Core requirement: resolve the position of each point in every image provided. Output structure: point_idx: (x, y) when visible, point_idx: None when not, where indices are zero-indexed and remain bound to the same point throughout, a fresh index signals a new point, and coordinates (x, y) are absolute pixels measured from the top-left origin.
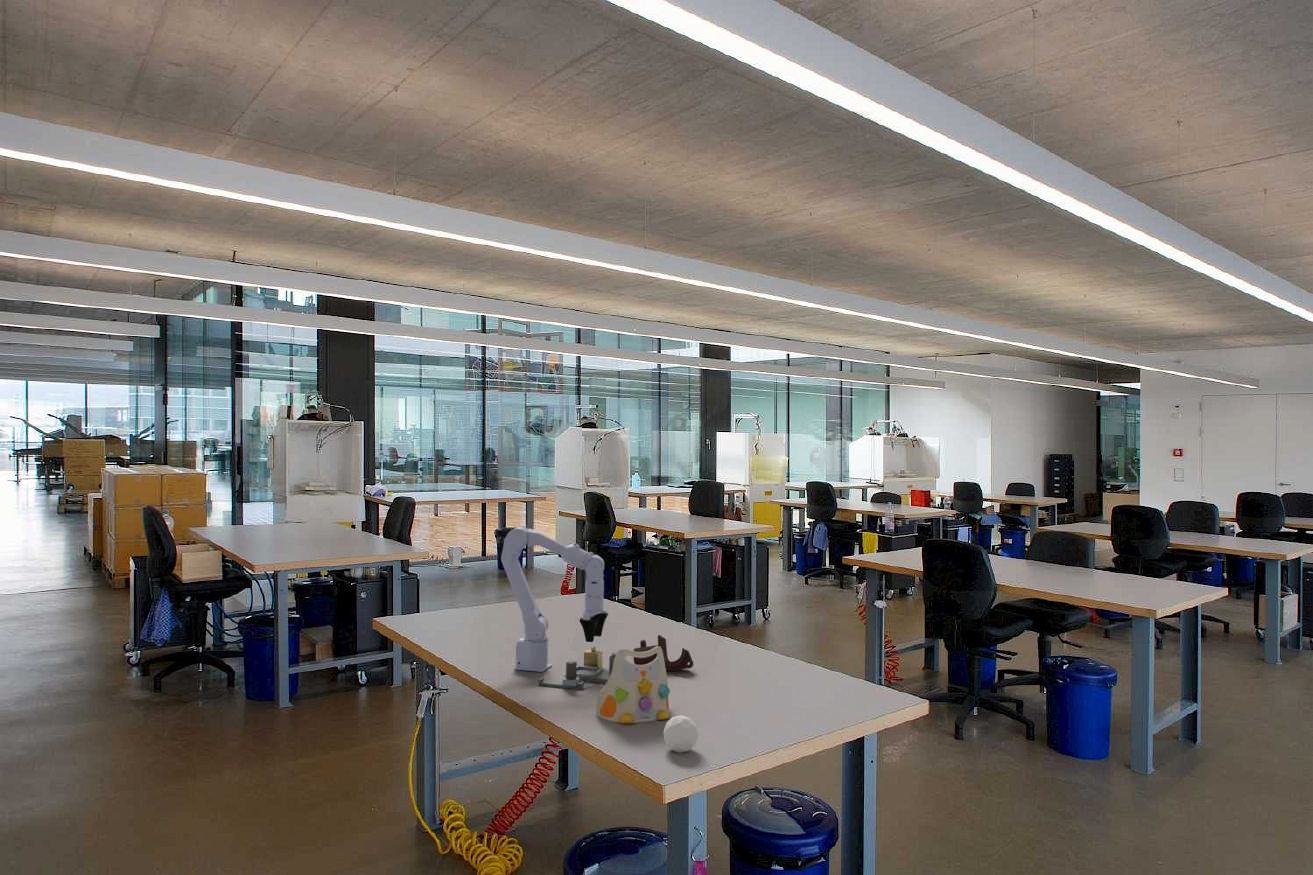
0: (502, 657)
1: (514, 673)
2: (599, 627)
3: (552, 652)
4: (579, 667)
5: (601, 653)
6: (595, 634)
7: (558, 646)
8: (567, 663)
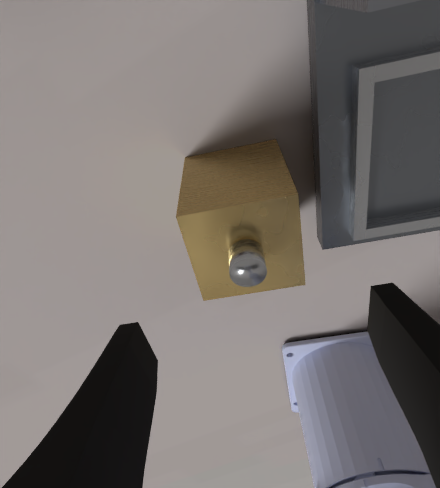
0: (256, 457)
1: None
2: (118, 419)
3: None
4: (363, 222)
5: (203, 199)
6: (152, 367)
7: (34, 426)
8: None
